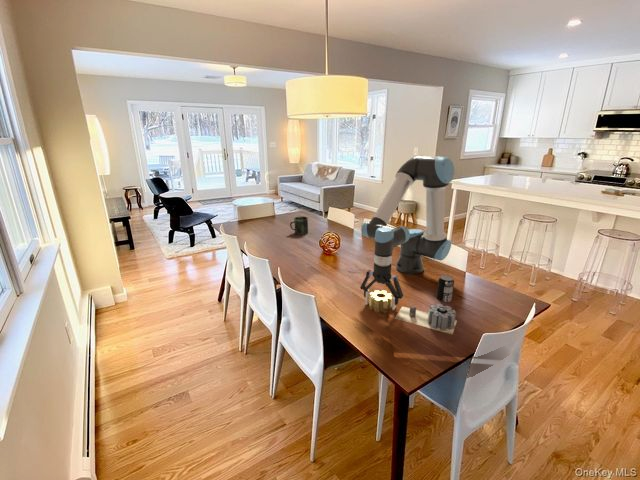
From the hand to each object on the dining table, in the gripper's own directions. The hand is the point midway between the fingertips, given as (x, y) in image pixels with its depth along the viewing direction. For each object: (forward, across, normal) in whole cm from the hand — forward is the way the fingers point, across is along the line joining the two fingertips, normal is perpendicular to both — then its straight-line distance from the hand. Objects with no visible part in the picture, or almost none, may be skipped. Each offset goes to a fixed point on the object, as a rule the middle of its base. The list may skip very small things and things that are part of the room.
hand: (380, 306), depth 144 cm
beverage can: (0, +24, +20) cm, 31 cm away
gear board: (0, +20, -2) cm, 21 cm away
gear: (-1, +26, -2) cm, 27 cm away
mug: (0, -94, +74) cm, 120 cm away
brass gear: (0, 0, 0) cm, 0 cm away
